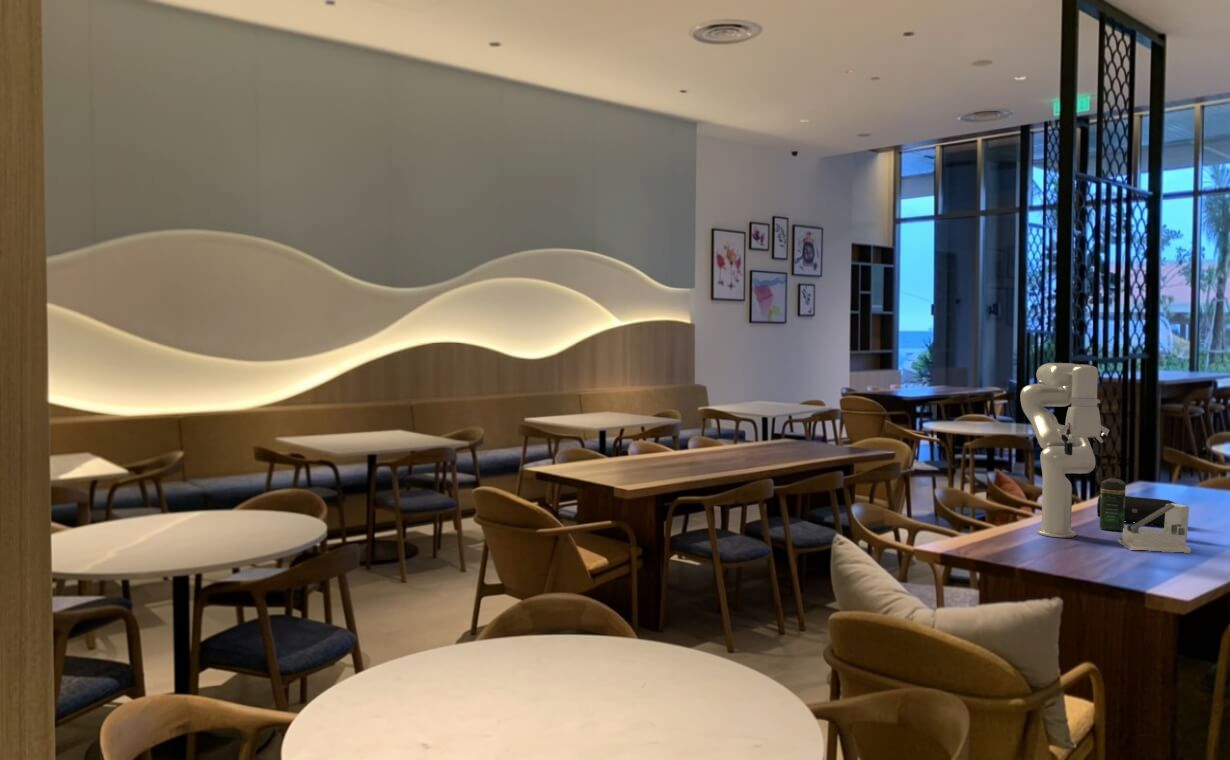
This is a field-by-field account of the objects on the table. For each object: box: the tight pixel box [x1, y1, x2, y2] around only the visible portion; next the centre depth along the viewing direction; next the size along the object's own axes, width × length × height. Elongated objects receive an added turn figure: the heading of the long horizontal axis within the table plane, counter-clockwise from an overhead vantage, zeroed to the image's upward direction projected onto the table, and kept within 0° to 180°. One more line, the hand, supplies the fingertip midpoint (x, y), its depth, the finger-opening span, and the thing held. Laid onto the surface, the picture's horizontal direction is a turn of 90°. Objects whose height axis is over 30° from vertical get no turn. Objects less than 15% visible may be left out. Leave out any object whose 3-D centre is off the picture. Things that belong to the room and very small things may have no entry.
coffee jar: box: [1099, 477, 1127, 531], centre depth 333 cm, size 10×8×19 cm
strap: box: [1129, 503, 1175, 530], centre depth 303 cm, size 3×15×1 cm
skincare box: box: [1163, 502, 1190, 541], centre depth 316 cm, size 6×4×12 cm
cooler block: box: [1117, 523, 1192, 554], centre depth 303 cm, size 12×18×8 cm, turn 79°
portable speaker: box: [1096, 495, 1177, 527], centre depth 344 cm, size 26×10×10 cm, turn 53°
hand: (1082, 454), depth 300 cm, fingers open, 9 cm apart
